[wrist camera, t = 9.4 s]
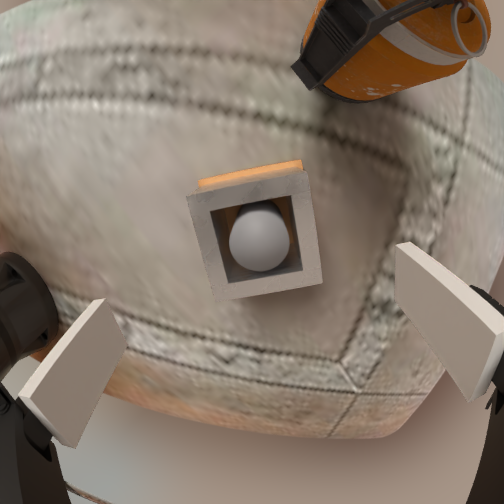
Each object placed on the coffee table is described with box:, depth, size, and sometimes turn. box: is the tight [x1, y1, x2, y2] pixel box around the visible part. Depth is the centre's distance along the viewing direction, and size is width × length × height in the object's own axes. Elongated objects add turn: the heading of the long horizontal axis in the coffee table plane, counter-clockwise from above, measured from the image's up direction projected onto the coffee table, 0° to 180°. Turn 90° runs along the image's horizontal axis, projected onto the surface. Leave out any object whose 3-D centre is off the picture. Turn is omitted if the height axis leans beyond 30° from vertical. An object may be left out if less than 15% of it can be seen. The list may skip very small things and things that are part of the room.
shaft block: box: [198, 160, 303, 271], centre depth 22 cm, size 9×9×8 cm
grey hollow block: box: [186, 166, 323, 302], centre depth 22 cm, size 8×8×6 cm
